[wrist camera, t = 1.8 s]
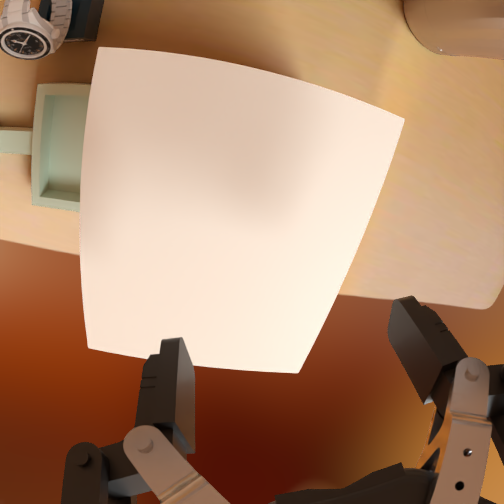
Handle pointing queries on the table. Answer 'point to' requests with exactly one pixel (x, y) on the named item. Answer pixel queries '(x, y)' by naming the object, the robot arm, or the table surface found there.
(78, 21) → the watch
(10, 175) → the table surface
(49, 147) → the tray
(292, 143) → the white side table
